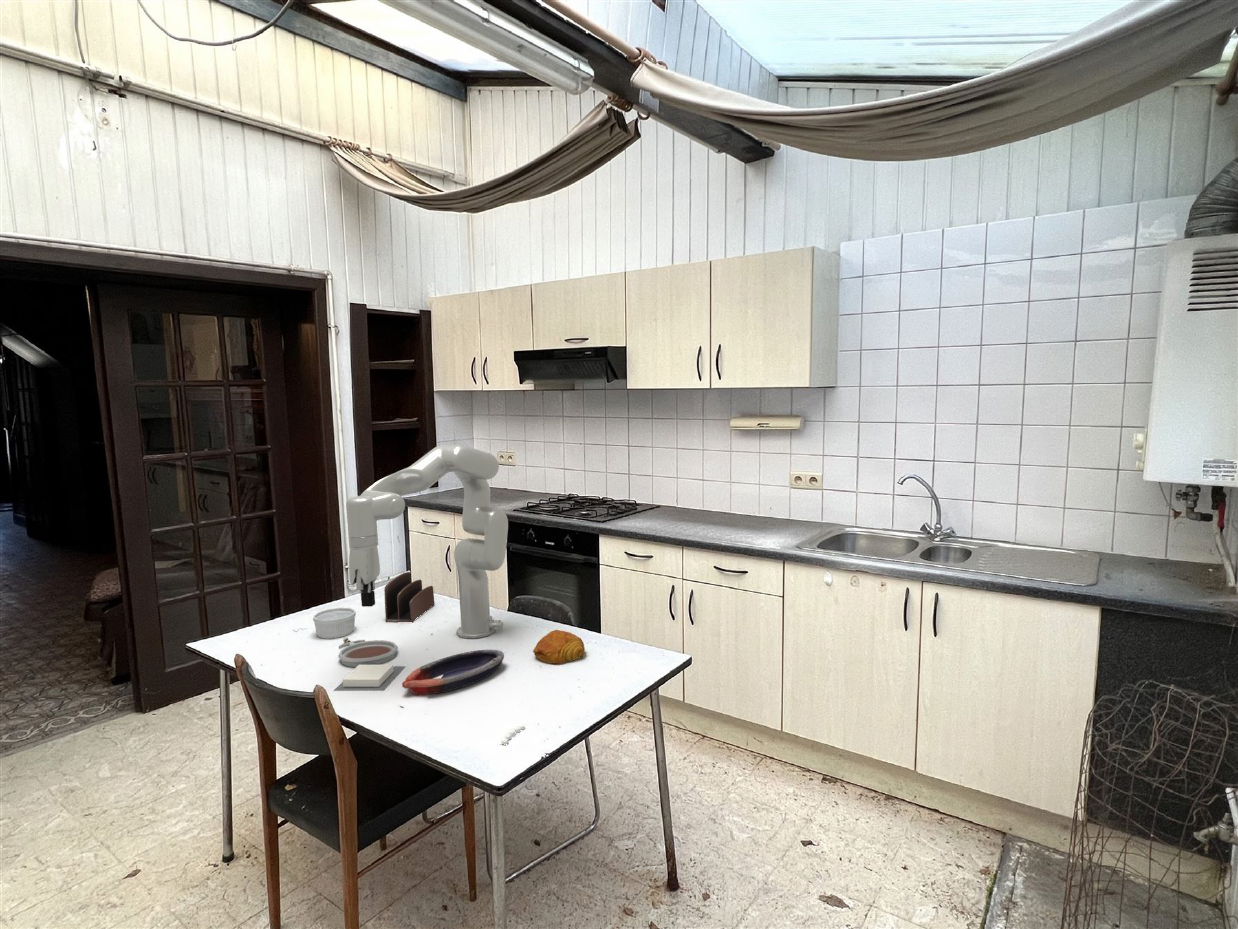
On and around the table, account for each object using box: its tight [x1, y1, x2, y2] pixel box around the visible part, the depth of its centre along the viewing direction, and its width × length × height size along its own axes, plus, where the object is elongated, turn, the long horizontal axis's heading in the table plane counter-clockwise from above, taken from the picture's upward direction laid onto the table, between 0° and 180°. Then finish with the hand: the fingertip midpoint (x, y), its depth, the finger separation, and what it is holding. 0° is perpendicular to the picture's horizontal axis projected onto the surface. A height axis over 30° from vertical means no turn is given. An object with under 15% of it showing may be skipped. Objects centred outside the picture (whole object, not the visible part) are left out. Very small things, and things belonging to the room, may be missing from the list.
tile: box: [342, 664, 394, 687], centre depth 188 cm, size 10×2×10 cm
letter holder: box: [383, 571, 435, 623], centre depth 245 cm, size 10×20×14 cm, turn 172°
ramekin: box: [312, 607, 356, 640], centre depth 227 cm, size 13×13×7 cm
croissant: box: [532, 629, 586, 665], centre depth 203 cm, size 14×16×8 cm
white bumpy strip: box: [500, 724, 526, 745], centre depth 155 cm, size 15×4×2 cm, turn 155°
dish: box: [401, 649, 505, 695], centre depth 187 cm, size 16×31×5 cm, turn 131°
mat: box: [332, 665, 407, 692], centre depth 189 cm, size 14×16×1 cm
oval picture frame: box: [337, 636, 399, 668], centre depth 208 cm, size 17×3×28 cm
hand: (368, 605), depth 188 cm, fingers closed
